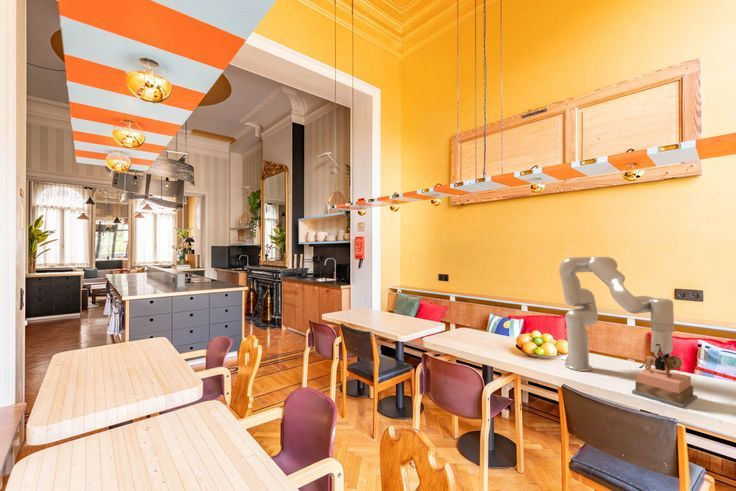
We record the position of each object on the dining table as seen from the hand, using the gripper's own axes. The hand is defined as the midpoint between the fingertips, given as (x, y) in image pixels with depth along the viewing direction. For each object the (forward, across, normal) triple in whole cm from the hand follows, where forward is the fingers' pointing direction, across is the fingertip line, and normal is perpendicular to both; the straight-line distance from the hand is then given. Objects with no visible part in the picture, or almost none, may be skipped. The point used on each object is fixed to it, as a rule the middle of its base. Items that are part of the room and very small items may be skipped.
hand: (663, 367), depth 144 cm
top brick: (+7, 0, 0) cm, 7 cm away
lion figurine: (+3, 0, -1) cm, 3 cm away
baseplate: (+12, 0, 0) cm, 12 cm away
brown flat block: (+11, 0, 0) cm, 11 cm away
